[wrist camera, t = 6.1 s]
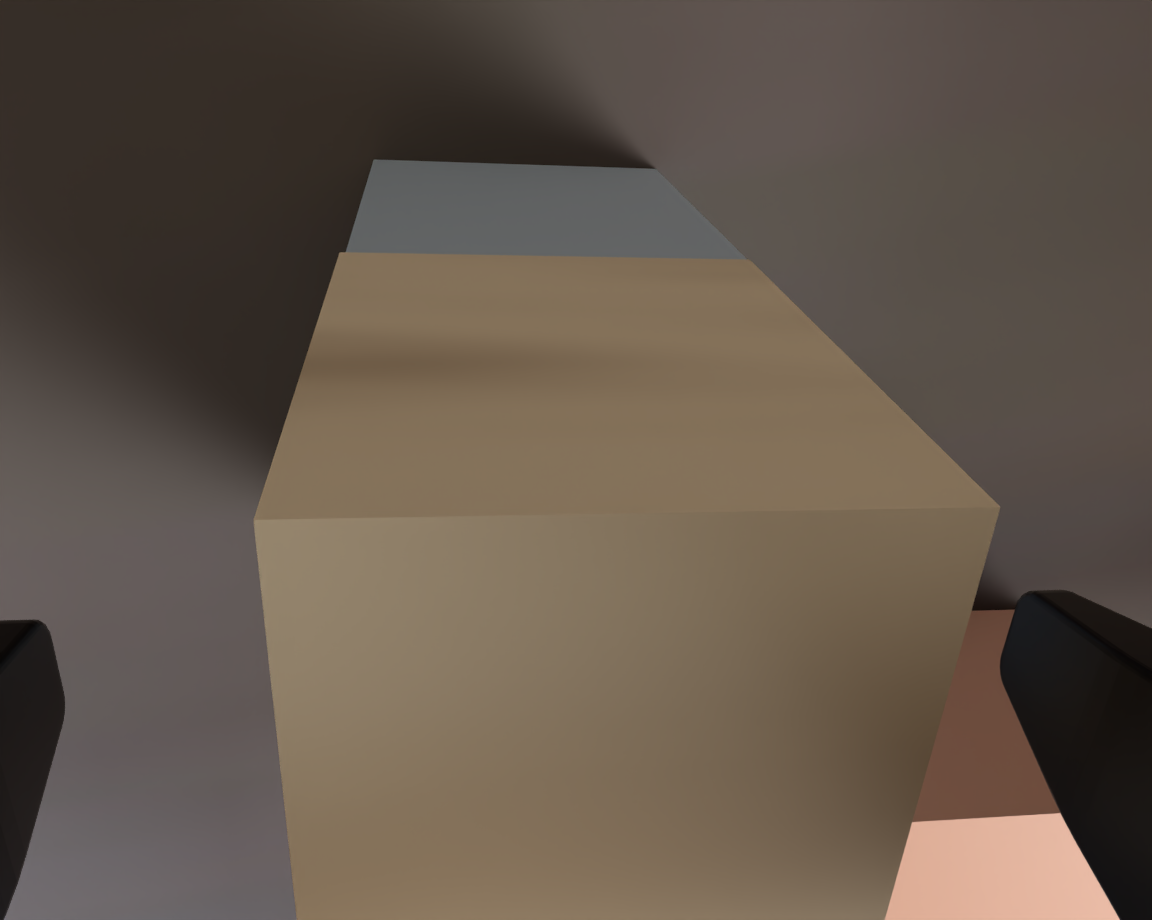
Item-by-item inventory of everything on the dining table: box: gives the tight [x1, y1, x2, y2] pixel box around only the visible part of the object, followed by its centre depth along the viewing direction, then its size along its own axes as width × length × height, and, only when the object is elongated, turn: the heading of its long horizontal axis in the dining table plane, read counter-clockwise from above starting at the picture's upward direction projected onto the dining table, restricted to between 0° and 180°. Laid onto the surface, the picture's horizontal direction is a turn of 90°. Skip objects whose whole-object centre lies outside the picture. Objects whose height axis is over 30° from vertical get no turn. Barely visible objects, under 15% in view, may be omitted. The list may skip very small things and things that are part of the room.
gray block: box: [346, 160, 746, 259], centre depth 13 cm, size 6×4×5 cm, turn 177°
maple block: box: [254, 252, 1000, 920], centre depth 9 cm, size 6×4×5 cm, turn 177°
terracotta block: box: [885, 610, 1120, 920], centre depth 17 cm, size 6×4×5 cm, turn 87°
